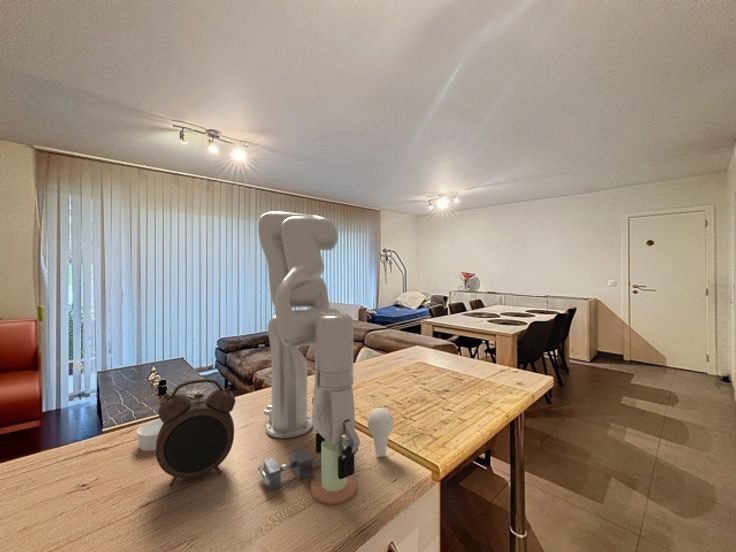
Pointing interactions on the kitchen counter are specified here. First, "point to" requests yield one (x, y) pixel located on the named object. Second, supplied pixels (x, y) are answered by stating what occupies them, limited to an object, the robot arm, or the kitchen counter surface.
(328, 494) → the coaster
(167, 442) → the alarm clock
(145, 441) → the ramekin
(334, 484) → the candle
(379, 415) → the lightbulb
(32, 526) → the kitchen counter surface
